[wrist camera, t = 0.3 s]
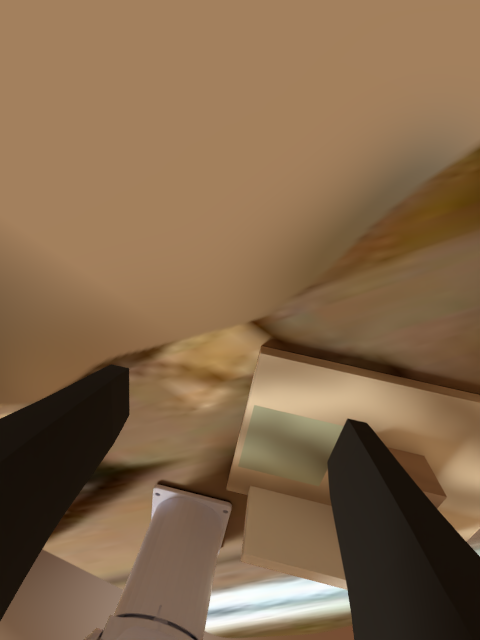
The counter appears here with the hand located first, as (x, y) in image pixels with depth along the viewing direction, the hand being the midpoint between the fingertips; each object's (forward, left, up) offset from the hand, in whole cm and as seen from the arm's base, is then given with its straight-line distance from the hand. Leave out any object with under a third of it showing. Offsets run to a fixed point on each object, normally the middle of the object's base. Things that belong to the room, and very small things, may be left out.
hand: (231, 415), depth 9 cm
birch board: (-10, -12, -10) cm, 18 cm away
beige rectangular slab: (-17, -11, -9) cm, 22 cm away
